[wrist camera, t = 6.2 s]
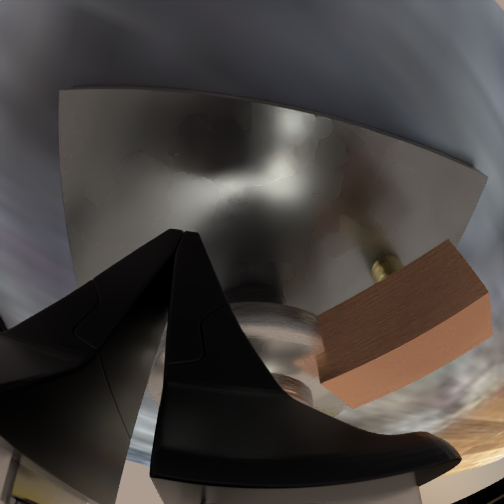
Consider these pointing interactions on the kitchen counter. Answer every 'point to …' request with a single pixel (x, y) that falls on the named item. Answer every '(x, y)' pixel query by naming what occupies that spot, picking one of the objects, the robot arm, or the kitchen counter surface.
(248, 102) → the post plate
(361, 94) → the kitchen counter surface
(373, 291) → the disc with brown handle
